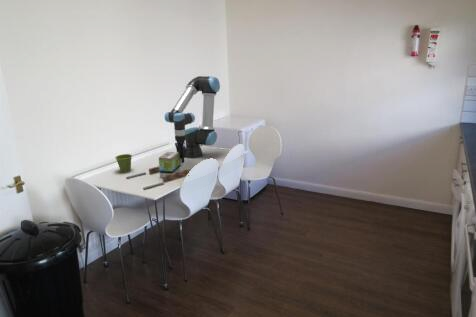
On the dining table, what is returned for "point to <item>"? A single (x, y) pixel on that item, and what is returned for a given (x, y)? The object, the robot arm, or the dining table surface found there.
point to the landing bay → (147, 186)
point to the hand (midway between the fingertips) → (182, 166)
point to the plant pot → (124, 162)
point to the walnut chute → (169, 176)
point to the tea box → (169, 163)
